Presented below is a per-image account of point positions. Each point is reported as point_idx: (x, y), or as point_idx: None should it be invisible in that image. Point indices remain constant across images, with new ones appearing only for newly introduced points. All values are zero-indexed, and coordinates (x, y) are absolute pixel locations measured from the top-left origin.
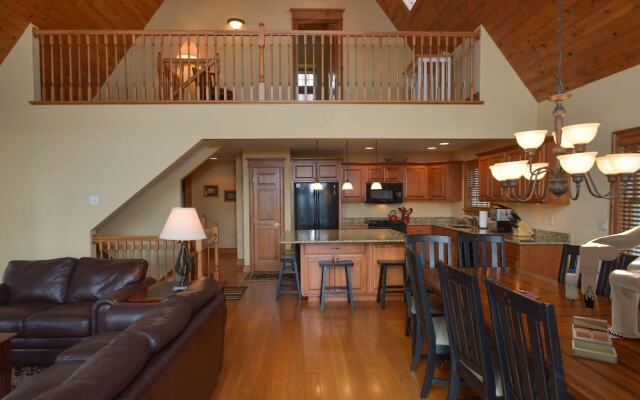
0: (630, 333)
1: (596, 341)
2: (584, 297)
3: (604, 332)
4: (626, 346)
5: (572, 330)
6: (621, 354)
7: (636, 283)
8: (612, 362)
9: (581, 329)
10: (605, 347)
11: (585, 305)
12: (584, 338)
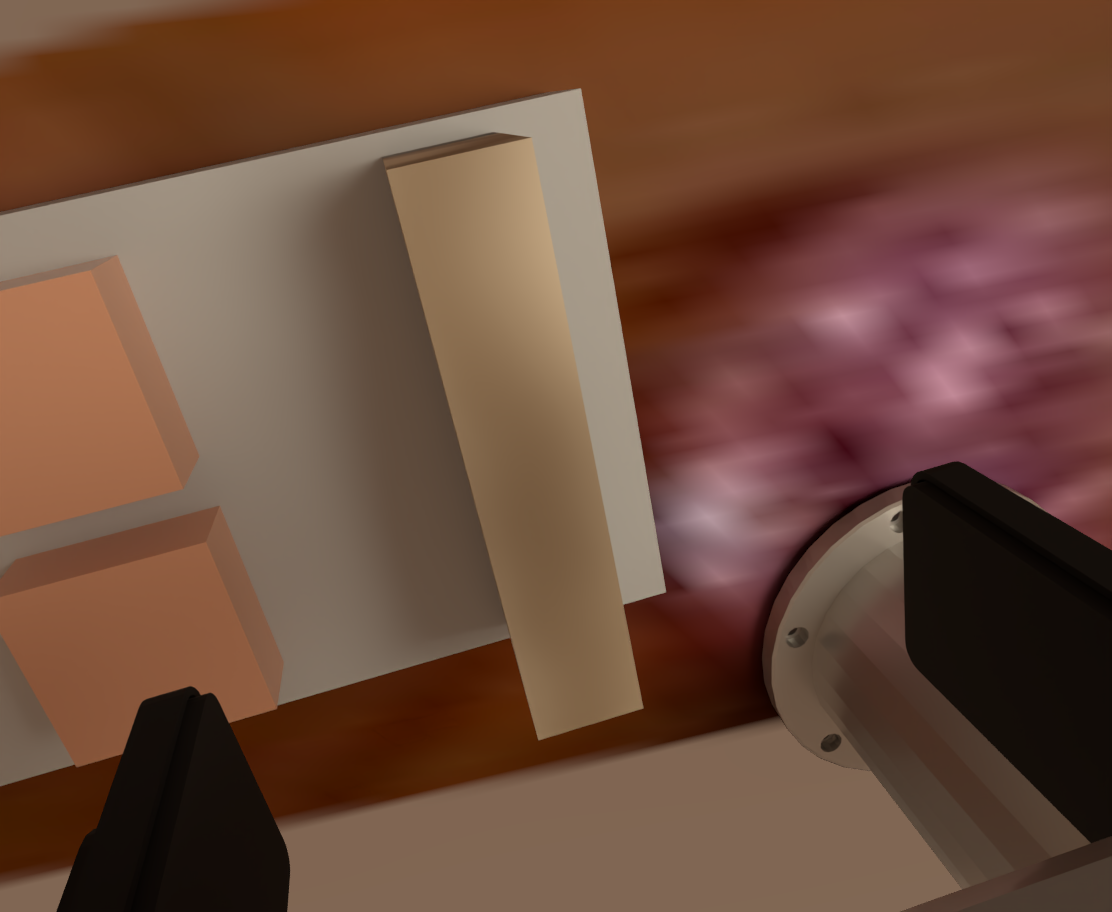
0: (834, 722)
1: None
2: (1061, 565)
3: (248, 689)
4: (453, 730)
5: (373, 132)
6: (95, 763)
7: None
8: None
9: (66, 380)
10: None
11: (125, 752)
12: None
